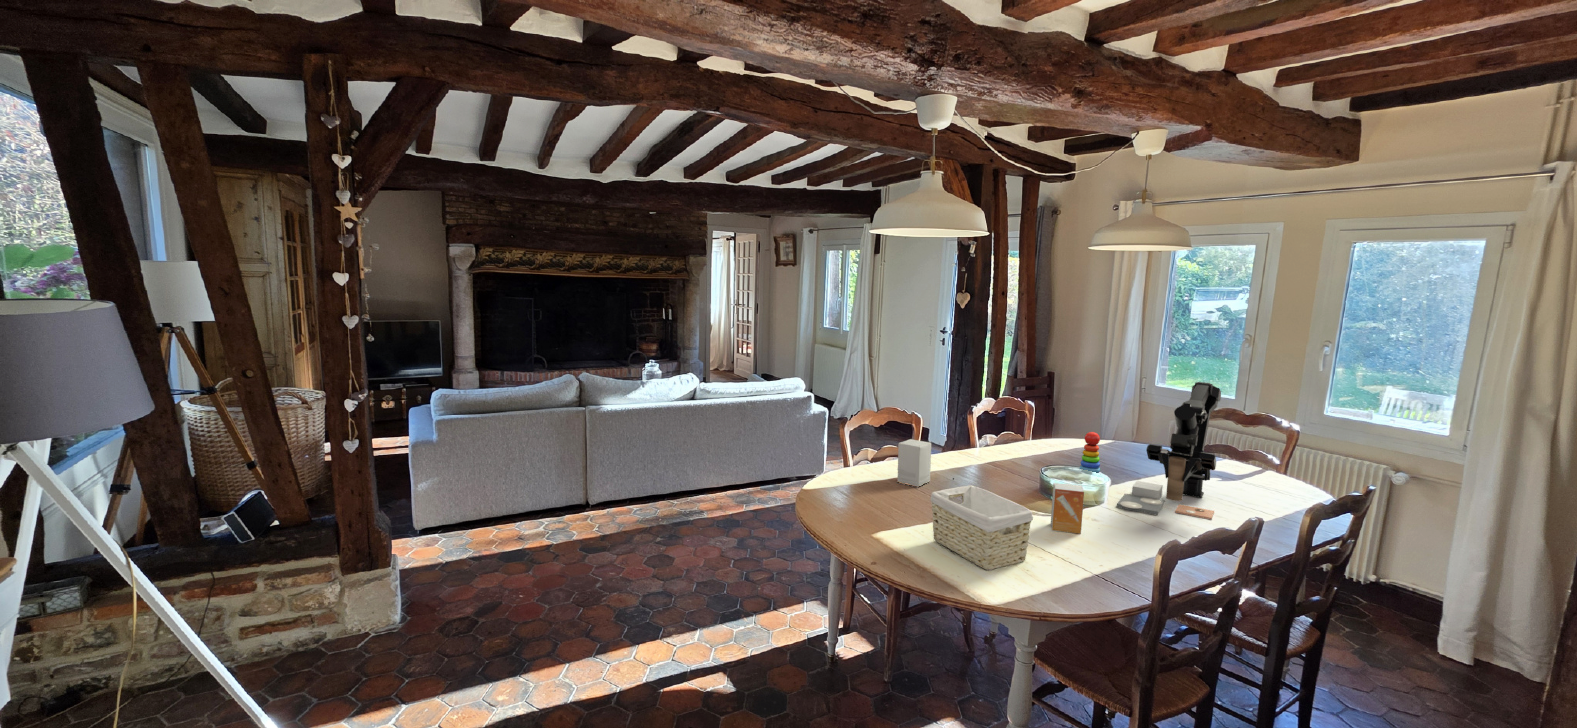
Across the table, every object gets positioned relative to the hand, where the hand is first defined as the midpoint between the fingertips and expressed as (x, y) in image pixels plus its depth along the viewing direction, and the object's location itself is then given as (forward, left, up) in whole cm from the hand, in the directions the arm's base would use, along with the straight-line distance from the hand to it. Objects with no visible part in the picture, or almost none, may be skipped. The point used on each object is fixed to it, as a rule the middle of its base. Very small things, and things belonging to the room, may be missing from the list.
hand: (1174, 479), depth 206 cm
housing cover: (-19, -10, -13) cm, 25 cm away
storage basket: (+62, -38, -13) cm, 74 cm away
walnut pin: (-1, 0, -7) cm, 7 cm away
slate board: (-7, -10, -13) cm, 18 cm away
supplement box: (+18, -80, -13) cm, 83 cm away
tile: (-11, +5, -13) cm, 18 cm away
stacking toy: (-24, -30, -13) cm, 41 cm away
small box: (+30, -24, -13) cm, 40 cm away
